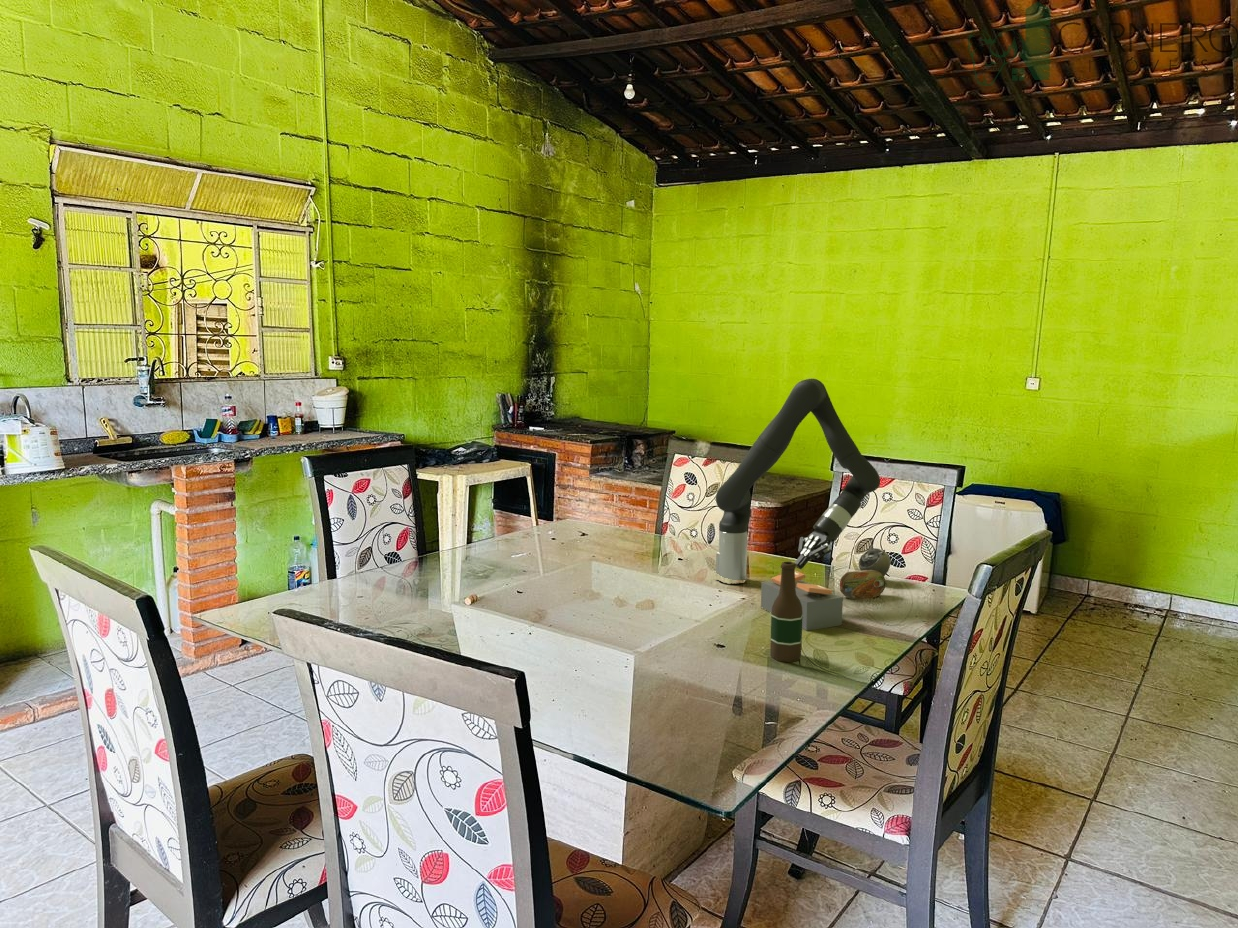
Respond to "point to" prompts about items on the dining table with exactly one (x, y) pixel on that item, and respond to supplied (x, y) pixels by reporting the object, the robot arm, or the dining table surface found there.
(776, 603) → the beer bottle
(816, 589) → the orange flat board
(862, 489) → the robot arm
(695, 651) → the dining table surface
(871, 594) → the tin
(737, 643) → the dining table surface
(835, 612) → the switch box
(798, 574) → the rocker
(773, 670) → the dining table surface
